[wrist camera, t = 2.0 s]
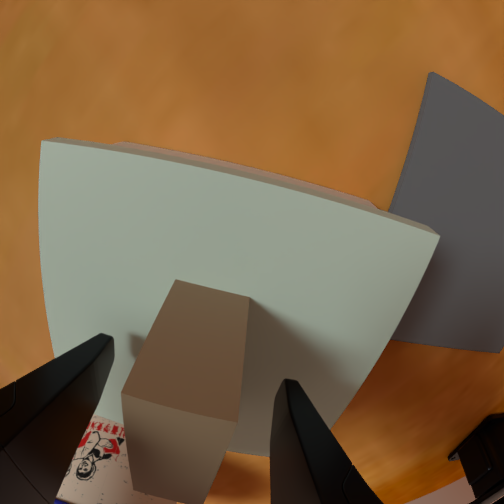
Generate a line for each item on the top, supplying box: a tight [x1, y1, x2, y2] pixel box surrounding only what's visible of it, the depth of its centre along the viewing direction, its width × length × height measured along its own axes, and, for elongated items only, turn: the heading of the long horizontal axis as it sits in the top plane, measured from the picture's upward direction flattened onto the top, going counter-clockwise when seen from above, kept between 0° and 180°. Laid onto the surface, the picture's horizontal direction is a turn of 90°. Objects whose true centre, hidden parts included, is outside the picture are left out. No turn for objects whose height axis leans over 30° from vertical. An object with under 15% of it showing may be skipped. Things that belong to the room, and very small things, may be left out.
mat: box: [388, 72, 504, 353], centre depth 12 cm, size 12×12×1 cm
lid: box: [38, 137, 440, 504], centre depth 8 cm, size 11×11×5 cm
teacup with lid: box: [54, 414, 177, 504], centre depth 15 cm, size 12×9×12 cm
